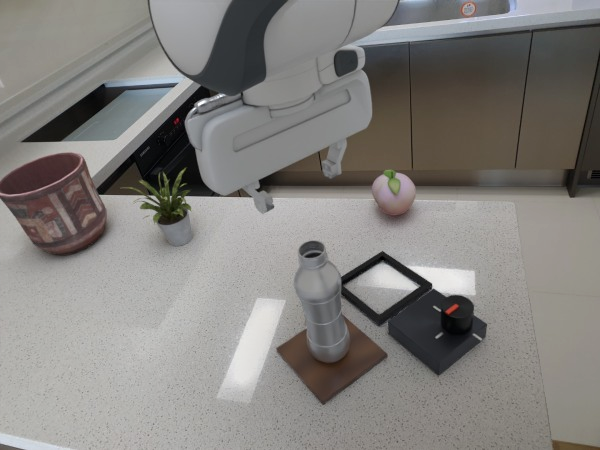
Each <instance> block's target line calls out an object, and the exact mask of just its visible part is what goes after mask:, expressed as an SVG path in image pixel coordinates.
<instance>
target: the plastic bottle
mask: <svg viewBox="0 0 600 450" xmlns="http://www.w3.org/2000/svg"><path fill="white" fill-rule="evenodd" d="M297 256H298V265H299V266H298V267H297V269H296V271H295V273H294V278H293V288H294V291H295V294H296V296H297V298H298V300H299V303H300V305H301V307H302V311H303V314H304V317H305V324H306V326H305V327H306V328H307V346H308V348H309V350H310V352H311V354H312V355H313V357H314V358H316V359H317V360H319V361H321V362H325V363H333V362H337V361H339V360H340V359H342V358H343V357H344V356H345V355H346V354H347V352H348V350H349V347H350V334H349V331H348V328H347V325H346V323H345V321H344V317H343V315H344V314H343V310H342V295H341V277H342V275H341V272H340V271H339V269H338V267H337V266H336V265H335V264H334V263H333V262H332V261H330V260H329V254H328V253H327V247H326V245H325V243H324V242H322V241H320V240H317V239H312V240H311V239H310V240H307V241H303V243H302V244H300V245H299V246H298V248H297Z"/></svg>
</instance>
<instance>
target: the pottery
mask: <svg viewBox="0 0 600 450" xmlns="http://www.w3.org/2000/svg"><path fill="white" fill-rule="evenodd" d="M0 200H1V201H2V202H3V204H4V205H5V206H6V208H7V209H8V211H10V213H11V214H12V215H13V216H14V218H15V219H16V221H17V222H18V224H19V225H20V226H21V229H22V230H23V231H24V233H25V234H26V237H28V239H29V240H30V242H31V243H32V244H33V245H34V246H35V247H36V248H37V249H40V250H42V251H44V252H46V253H49V254H54V255H58V256H67V255H71V254H77V253H78V252H81V251H83V250H86V249H87V248H88V247H90V246H92V245H93V244H94V243H95V242H96V241H98V240H99V238H100V236H101V235H102V234H103V232H104V230H105V228H106V222H107V215H108V213H107V208H106V206H105V203H104V202H103V200H102V198H101V196H100V194H99V192H98V190H97V188H96V186H95V183H94V180H93V178H92V176H91V174H90V171H89V167H88V164H87V162H86V158H84V156H83V155H82V154H81V153H77V152H72V151H70V152H69V151H68V152H57V153H53V154H48V155H43V156H41V157H38V158H35V159H32V160H30V161H28V162H26V163H23V164H22V165H19V166H18V167H16V168H14V169H12V170H11V171H10V172H8V173H7V174H5V175H4V176H3V177H2V178H1V179H0Z"/></svg>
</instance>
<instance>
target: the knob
mask: <svg viewBox="0 0 600 450" xmlns="http://www.w3.org/2000/svg"><path fill="white" fill-rule="evenodd" d="M474 307H475V305H474V303H473V302H472V300H470V299H469V298H468V297H467V296H465V295H460V294H452V295H448V296H446V298H445V299H444V300H443V301H442V303H441V325H442V327H443V328H444V329H445V330H446V331H448V332H450V333H453V334H464V333H467V332H468V331H470V329H471V328H472V325H473V315H475V314H474V313H475V310H474Z"/></svg>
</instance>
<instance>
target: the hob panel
mask: <svg viewBox="0 0 600 450" xmlns="http://www.w3.org/2000/svg"><path fill="white" fill-rule="evenodd" d="M446 297H447V296H446V295H445V294H443V293H442V292H440V291H438V290H437V289H435V288H434V287H432V289H431V290H430V291H428V292H427V293H426V294H424V295H423V296H421V297H420V298H418V299H417V300H416V301H414V302H413V303H411V304H410V305H409V306H407V307H406V308H404V309H403V310H402V311H400V312H399V313H397V314H396V315H395V316H393V317H392V318H390V319H389V320H387V334H388V335H389V336H390V337H392V338H393V339H394V340H395V341H396V342H397V343H399V344H400V345H401V346H402V347H403V348H404V349H406V350H407V351H408V352H409V353H411V354H412V355H413V356H414V357H415V358H417V359H418V360H419V361H420V362H421V363H422V364H424V365H425V366H426V367H427V368H428V369H430V370H431V371H432V372H434V374H436V375H437V376H440V375H442V374H443V373H444V372H445V371H446V370H447V369H449V368H450V367H452V366H453V365H454V364H455V363H456V362H458V360H460V359H461V358H462V357H463V356H465V355H466V354H467V353H468V352H469V351H471V350H472V349H473V348H474V347H476V346H477V345H478V344H479V343H481V342H482V341H483V340H484V339H485V338H486V336H487V328H488V323H487V322H486V321H483V320H482V319H481V318H479V317H478V316H476V315H475V314H474V315H473V325H472V328H471V329H470V331H468V332H467V333H464V334H453V333H450V332H448V331H446V330H445V329H444V328H443V327H442V325H441V303H442V301H443V300H444V299H445V298H446ZM477 308H478V307H477V306H474V311H476V310H477Z"/></svg>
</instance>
